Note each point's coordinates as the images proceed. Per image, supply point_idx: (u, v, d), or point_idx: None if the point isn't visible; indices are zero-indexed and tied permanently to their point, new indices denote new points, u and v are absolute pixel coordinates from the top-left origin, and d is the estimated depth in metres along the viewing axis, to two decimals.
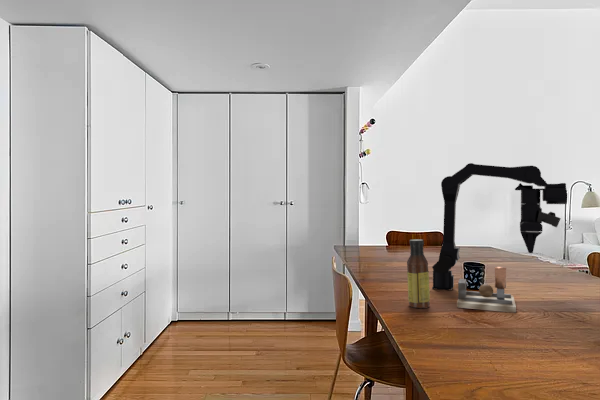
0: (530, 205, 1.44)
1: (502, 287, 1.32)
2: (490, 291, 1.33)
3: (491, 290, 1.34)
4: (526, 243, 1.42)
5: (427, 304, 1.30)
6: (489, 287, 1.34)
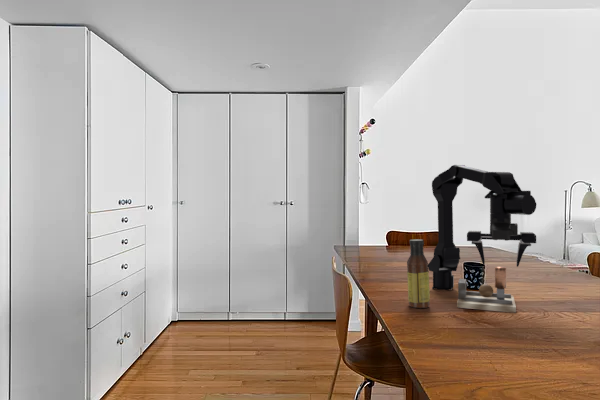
0: (490, 214, 1.35)
1: (502, 287, 1.32)
2: (490, 291, 1.33)
3: (491, 290, 1.34)
4: None
5: (427, 304, 1.30)
6: (489, 287, 1.34)
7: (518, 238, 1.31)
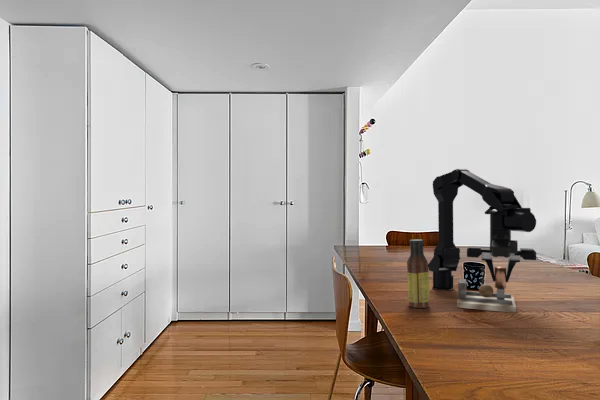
0: (490, 230, 1.35)
1: (502, 287, 1.32)
2: (490, 291, 1.33)
3: (491, 290, 1.34)
4: None
5: (427, 304, 1.30)
6: (489, 287, 1.34)
7: None
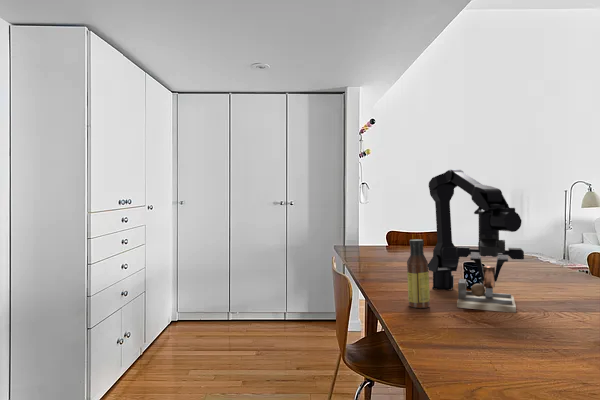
0: None
1: (491, 286, 1.33)
2: (482, 290, 1.34)
3: (483, 289, 1.35)
4: None
5: (427, 304, 1.30)
6: (481, 286, 1.35)
7: None
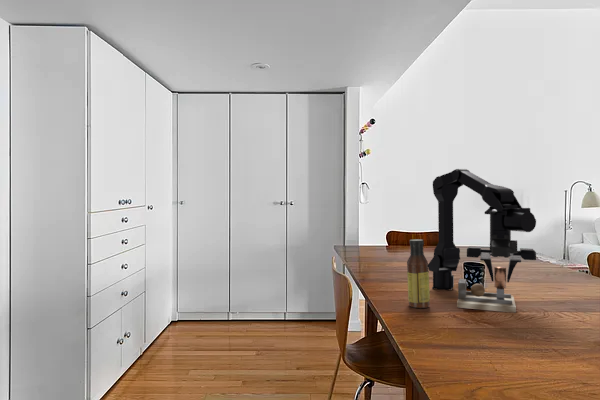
0: (490, 230, 1.35)
1: (502, 287, 1.32)
2: (481, 290, 1.34)
3: (483, 289, 1.35)
4: None
5: (427, 304, 1.30)
6: (481, 286, 1.35)
7: None
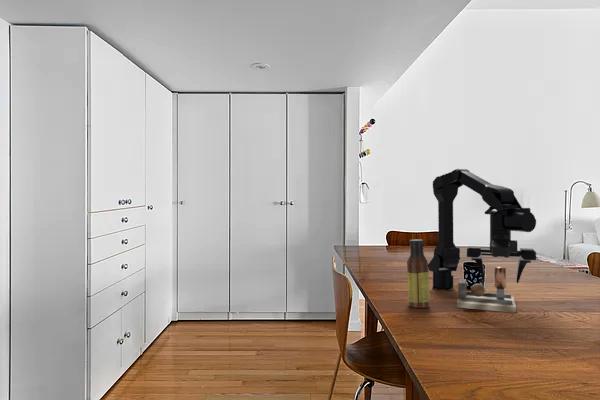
0: (490, 230, 1.35)
1: (502, 287, 1.32)
2: (481, 290, 1.34)
3: (483, 289, 1.35)
4: None
5: (427, 304, 1.30)
6: (481, 286, 1.35)
7: (518, 254, 1.31)
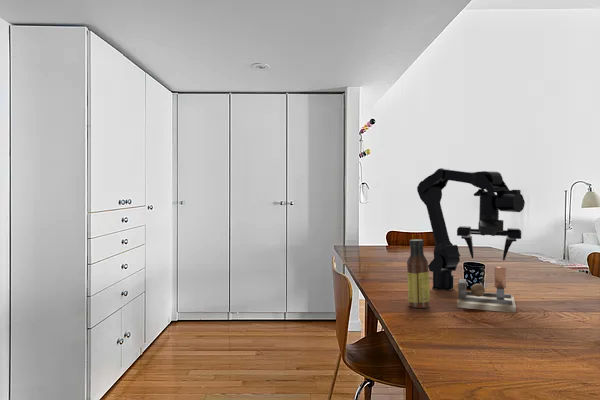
0: None
1: (502, 287, 1.32)
2: (481, 290, 1.34)
3: (483, 289, 1.35)
4: None
5: (427, 304, 1.30)
6: (481, 286, 1.35)
7: (505, 234, 1.40)
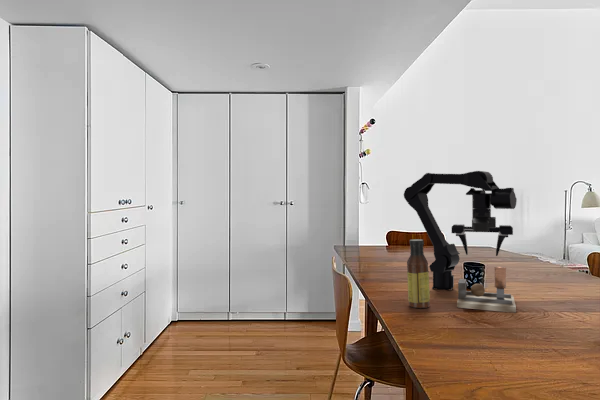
0: None
1: (502, 287, 1.32)
2: (481, 290, 1.34)
3: (483, 289, 1.35)
4: None
5: (427, 304, 1.30)
6: (481, 286, 1.35)
7: (497, 230, 1.46)
